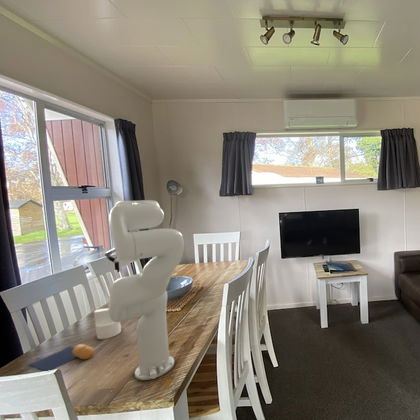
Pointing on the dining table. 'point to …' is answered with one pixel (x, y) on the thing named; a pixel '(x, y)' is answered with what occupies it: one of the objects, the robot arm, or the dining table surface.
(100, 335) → the base with upright slab
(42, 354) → the dining table surface
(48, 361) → the napkin
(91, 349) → the bread roll
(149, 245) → the robot arm
